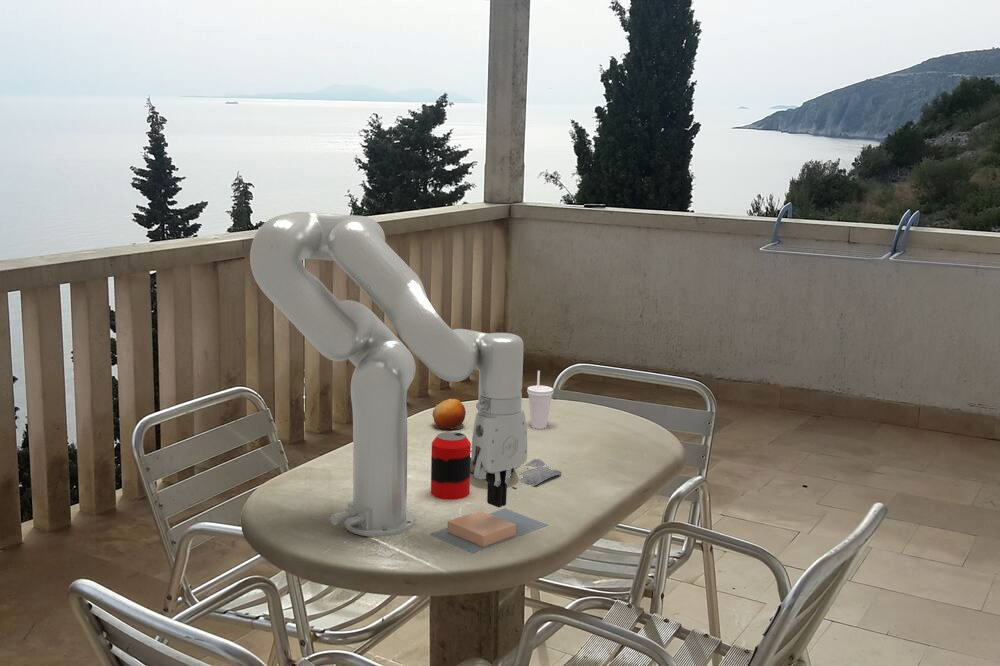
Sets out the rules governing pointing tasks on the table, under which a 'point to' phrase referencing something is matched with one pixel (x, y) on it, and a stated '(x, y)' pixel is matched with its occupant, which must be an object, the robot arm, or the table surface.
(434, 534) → the mat
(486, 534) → the tile
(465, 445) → the soda can
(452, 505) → the table surface
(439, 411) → the fruit
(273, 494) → the table surface
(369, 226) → the robot arm
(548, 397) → the smoothie
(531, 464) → the stone slab
